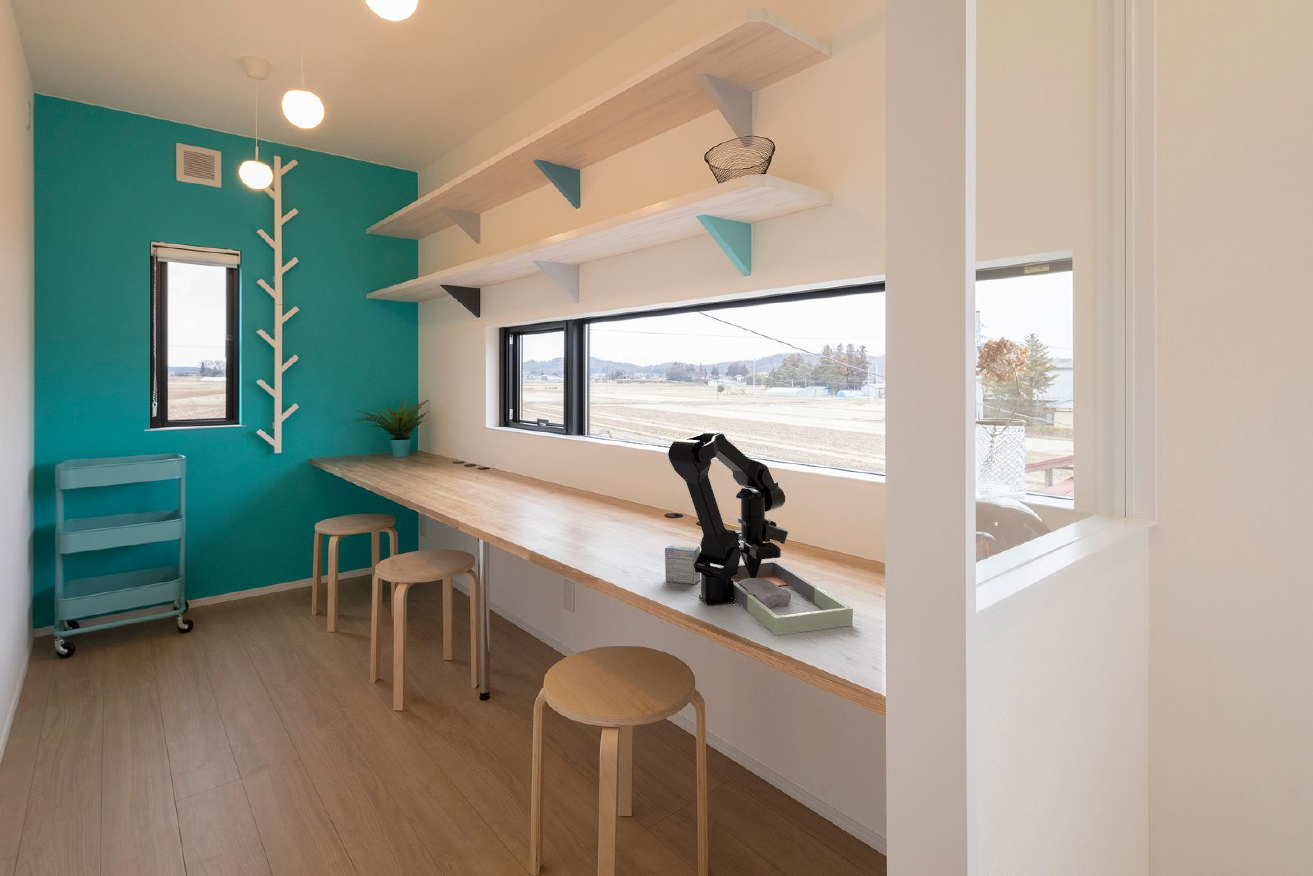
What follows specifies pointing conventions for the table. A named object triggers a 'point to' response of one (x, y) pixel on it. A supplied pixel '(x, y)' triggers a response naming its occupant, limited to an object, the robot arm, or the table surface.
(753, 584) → the stone block
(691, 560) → the medicine box
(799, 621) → the open tray box
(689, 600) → the table surface
